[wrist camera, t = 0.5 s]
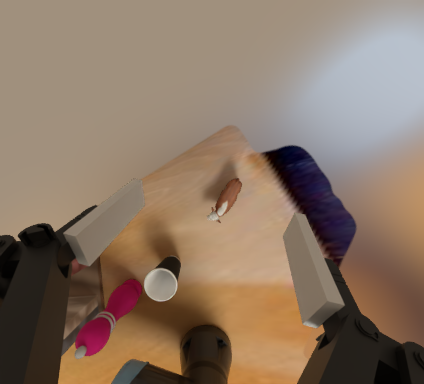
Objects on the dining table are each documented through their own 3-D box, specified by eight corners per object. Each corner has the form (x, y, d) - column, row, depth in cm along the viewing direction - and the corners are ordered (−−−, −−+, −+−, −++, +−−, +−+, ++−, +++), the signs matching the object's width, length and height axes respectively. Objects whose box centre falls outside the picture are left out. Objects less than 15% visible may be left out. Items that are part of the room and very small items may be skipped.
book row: (105, 311, 51) (63, 358, 37) (60, 314, 51) (3, 361, 37) (98, 250, 50) (54, 274, 36) (53, 253, 50) (-7, 278, 37)
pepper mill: (146, 281, 50) (101, 345, 30) (139, 303, 50) (89, 381, 30) (124, 274, 50) (64, 332, 30) (117, 296, 50) (52, 368, 30)
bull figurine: (205, 213, 49) (203, 218, 41) (231, 176, 48) (234, 174, 40) (217, 222, 49) (217, 229, 41) (243, 185, 48) (249, 184, 40)
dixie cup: (159, 250, 50) (143, 268, 39) (185, 250, 49) (177, 268, 38) (159, 276, 50) (143, 301, 39) (185, 276, 50) (177, 302, 39)
